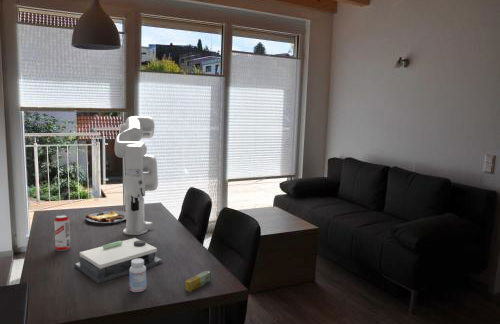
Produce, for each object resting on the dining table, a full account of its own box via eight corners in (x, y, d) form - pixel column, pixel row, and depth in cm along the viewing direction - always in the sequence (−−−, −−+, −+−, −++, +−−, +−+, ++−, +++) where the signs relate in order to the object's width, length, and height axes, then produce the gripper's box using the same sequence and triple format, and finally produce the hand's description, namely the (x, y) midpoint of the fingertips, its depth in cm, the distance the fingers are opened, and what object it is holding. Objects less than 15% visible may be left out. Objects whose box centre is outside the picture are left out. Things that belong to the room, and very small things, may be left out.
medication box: (205, 279, 163) (205, 270, 163) (211, 281, 162) (210, 271, 161) (184, 290, 154) (184, 280, 153) (189, 292, 152) (189, 282, 151)
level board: (135, 240, 189) (134, 234, 189) (157, 251, 177) (156, 244, 177) (79, 255, 171) (79, 248, 170) (99, 268, 158) (99, 260, 158)
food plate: (97, 228, 221) (97, 222, 221) (78, 219, 237) (78, 213, 236) (137, 220, 240) (137, 214, 239) (117, 212, 255) (117, 207, 255)
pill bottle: (131, 285, 156) (130, 257, 154) (147, 285, 157) (147, 257, 155) (128, 292, 150) (127, 264, 148) (144, 292, 151) (144, 263, 149)
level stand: (136, 249, 192) (136, 240, 191) (161, 262, 178) (161, 252, 177) (75, 266, 171) (74, 256, 171) (98, 283, 157) (98, 271, 156)
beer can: (64, 252, 187) (63, 218, 184) (52, 250, 188) (50, 217, 186) (73, 247, 193) (71, 214, 191) (61, 246, 194) (59, 213, 192)
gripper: (150, 173, 182) (151, 212, 186) (132, 167, 192) (133, 204, 195) (135, 176, 176) (136, 216, 180) (118, 169, 186) (119, 207, 190)
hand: (135, 210), depth 188 cm, fingers closed
